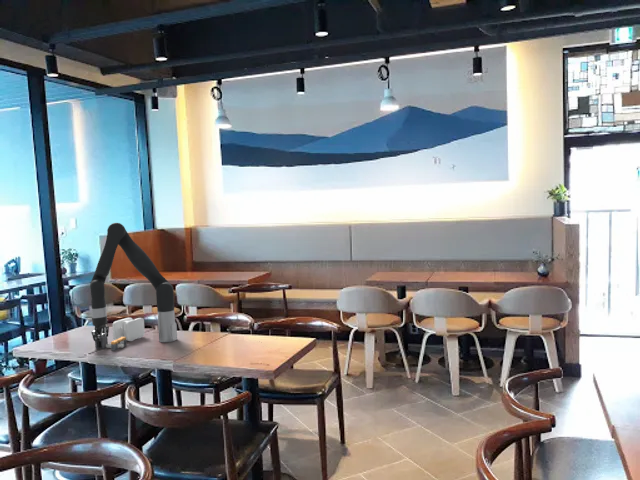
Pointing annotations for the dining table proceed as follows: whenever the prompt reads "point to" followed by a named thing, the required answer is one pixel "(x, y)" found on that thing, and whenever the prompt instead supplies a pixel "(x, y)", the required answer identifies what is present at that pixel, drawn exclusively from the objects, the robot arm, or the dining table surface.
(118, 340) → the tie bracket
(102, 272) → the robot arm
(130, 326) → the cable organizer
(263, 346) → the dining table surface
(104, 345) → the lead
